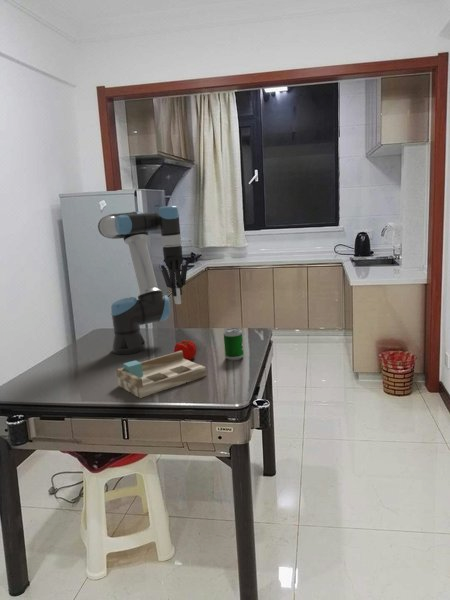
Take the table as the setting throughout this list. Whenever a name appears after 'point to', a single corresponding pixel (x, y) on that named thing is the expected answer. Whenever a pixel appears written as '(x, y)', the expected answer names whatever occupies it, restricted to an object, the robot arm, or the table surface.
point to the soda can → (233, 344)
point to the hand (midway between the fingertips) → (178, 303)
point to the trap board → (160, 374)
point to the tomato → (186, 349)
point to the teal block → (134, 368)
